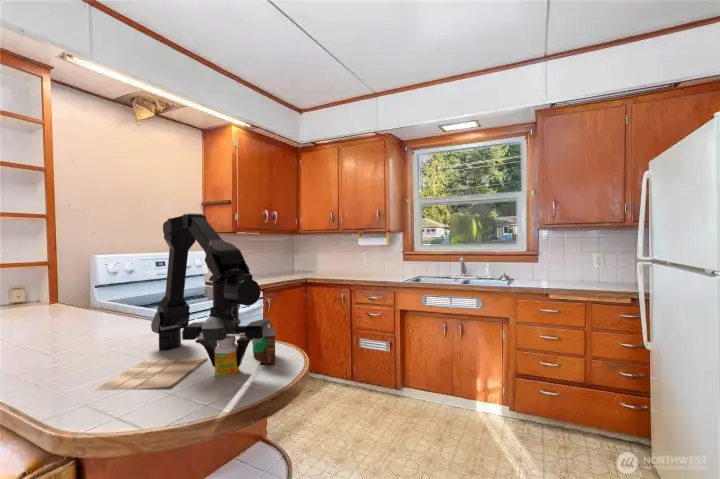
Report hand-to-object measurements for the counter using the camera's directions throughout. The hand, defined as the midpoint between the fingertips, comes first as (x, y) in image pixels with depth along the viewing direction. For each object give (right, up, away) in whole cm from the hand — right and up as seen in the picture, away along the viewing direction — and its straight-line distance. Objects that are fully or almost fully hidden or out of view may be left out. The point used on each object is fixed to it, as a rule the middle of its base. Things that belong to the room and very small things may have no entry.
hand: (227, 366), depth 84 cm
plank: (-13, -2, 0) cm, 13 cm away
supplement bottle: (0, -3, 0) cm, 3 cm away
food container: (+5, -3, +11) cm, 12 cm away
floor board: (-21, -3, 0) cm, 21 cm away
